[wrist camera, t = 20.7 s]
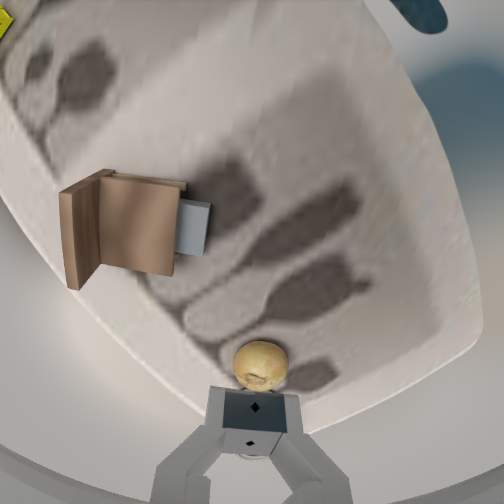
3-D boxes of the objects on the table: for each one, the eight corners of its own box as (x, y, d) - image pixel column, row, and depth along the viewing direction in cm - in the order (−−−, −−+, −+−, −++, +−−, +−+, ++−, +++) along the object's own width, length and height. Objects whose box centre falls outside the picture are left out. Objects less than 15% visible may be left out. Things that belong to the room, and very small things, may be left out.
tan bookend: (187, 178, 33) (163, 206, 24) (179, 260, 38) (158, 308, 29) (103, 168, 33) (58, 192, 24) (103, 247, 37) (67, 287, 28)
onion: (291, 335, 44) (296, 371, 37) (281, 371, 47) (284, 405, 41) (236, 330, 43) (234, 366, 37) (231, 367, 47) (229, 402, 40)
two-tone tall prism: (211, 202, 35) (208, 208, 33) (204, 249, 38) (202, 256, 36) (114, 188, 34) (107, 193, 32) (113, 233, 37) (107, 240, 35)
